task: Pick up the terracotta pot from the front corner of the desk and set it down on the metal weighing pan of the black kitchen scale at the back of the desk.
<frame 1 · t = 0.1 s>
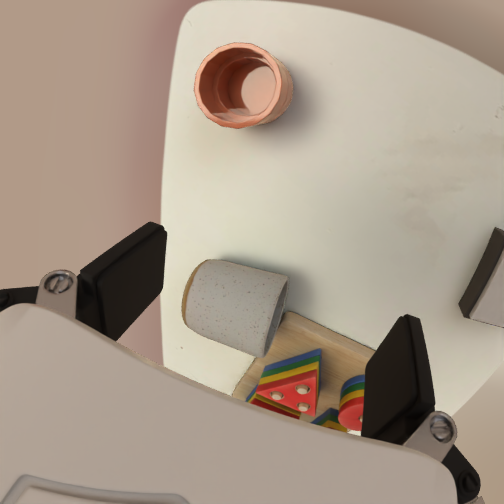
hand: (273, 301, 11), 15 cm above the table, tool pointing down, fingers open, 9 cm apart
terracotta pot: (256, 89, 21), on the table
ceramic mug: (250, 294, 31), on the table
shape sorter: (319, 382, 34), on the table
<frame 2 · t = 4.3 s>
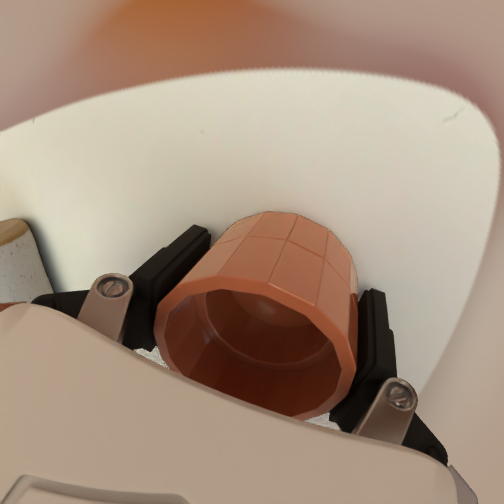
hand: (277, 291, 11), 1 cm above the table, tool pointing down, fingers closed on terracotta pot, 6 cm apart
terracotta pot: (283, 277, 12), on the table, touching gripper
ceramic mug: (32, 263, 19), on the table
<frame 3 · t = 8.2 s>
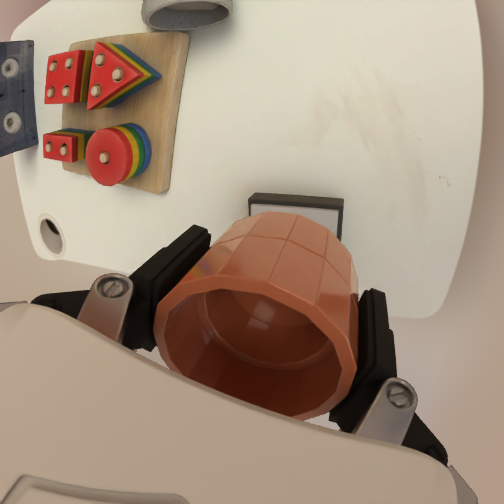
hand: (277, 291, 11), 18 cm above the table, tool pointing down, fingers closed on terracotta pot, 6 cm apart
vhs cassette tape: (31, 92, 31), on the table
scale: (297, 236, 30), on the table
terracotta pot: (283, 277, 12), point 17 cm above the table, touching gripper
ceramic mug: (194, 1, 21), on the table
shape sorter: (117, 107, 29), on the table
when the fingers open (4 cm above the table, at t = 12.4 s): terracotta pot stays where it is, resting on scale.
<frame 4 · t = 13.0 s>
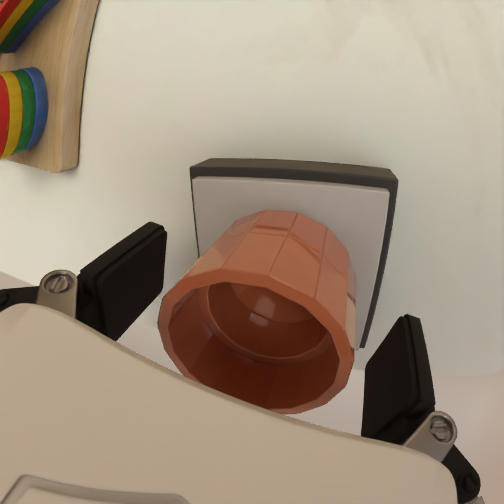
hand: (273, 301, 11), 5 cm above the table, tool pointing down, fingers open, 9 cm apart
scale: (294, 245, 15), on the table
terracotta pot: (283, 273, 13), point 3 cm above the table, touching scale
shape sorter: (27, 55, 14), on the table
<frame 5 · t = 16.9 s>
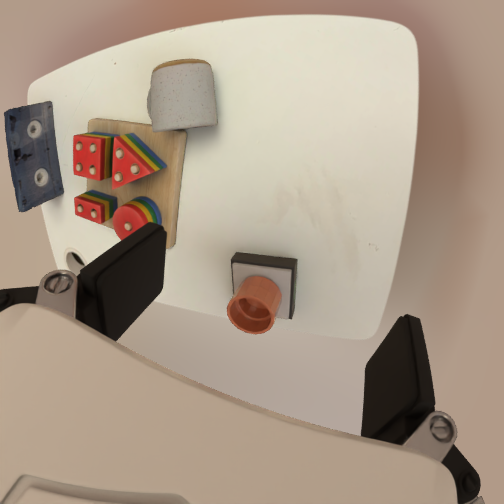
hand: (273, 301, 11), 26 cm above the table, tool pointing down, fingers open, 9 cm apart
vhs cassette tape: (54, 147, 44), on the table
scale: (266, 282, 43), on the table
terracotta pot: (260, 293, 40), point 3 cm above the table, touching scale
ceramic mug: (188, 100, 34), on the table
shape sorter: (132, 178, 42), on the table
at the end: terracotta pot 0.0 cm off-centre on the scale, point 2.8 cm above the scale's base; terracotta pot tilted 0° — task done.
